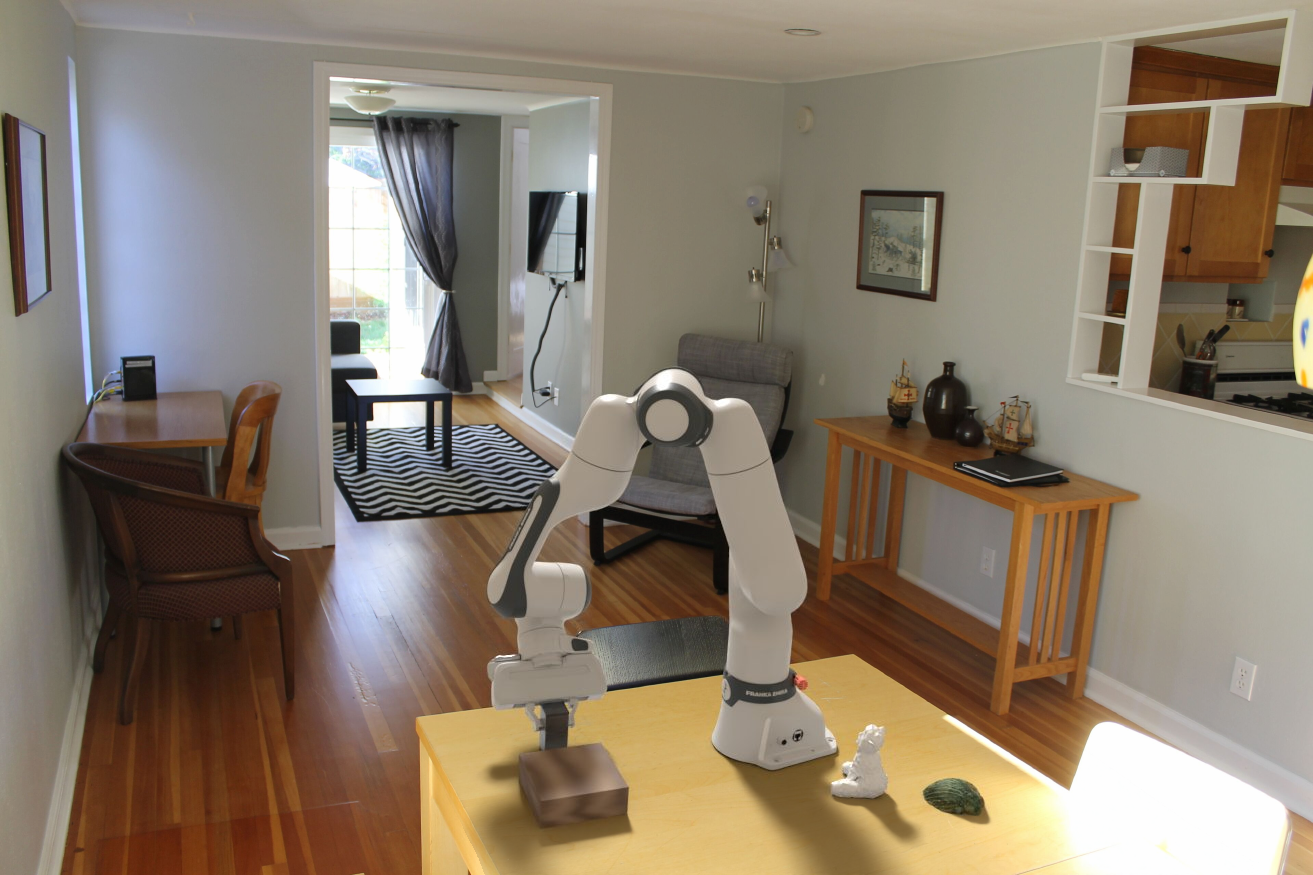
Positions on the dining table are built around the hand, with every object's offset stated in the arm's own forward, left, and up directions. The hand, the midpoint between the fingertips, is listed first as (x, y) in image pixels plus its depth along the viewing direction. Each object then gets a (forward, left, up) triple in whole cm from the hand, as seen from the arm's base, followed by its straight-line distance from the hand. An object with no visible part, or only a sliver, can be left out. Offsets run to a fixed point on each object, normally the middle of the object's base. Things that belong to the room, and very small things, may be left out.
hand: (554, 728), depth 173 cm
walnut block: (0, +14, -5) cm, 15 cm away
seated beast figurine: (-47, +23, -5) cm, 53 cm away
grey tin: (0, -1, -4) cm, 4 cm away
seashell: (-61, +30, -5) cm, 68 cm away
